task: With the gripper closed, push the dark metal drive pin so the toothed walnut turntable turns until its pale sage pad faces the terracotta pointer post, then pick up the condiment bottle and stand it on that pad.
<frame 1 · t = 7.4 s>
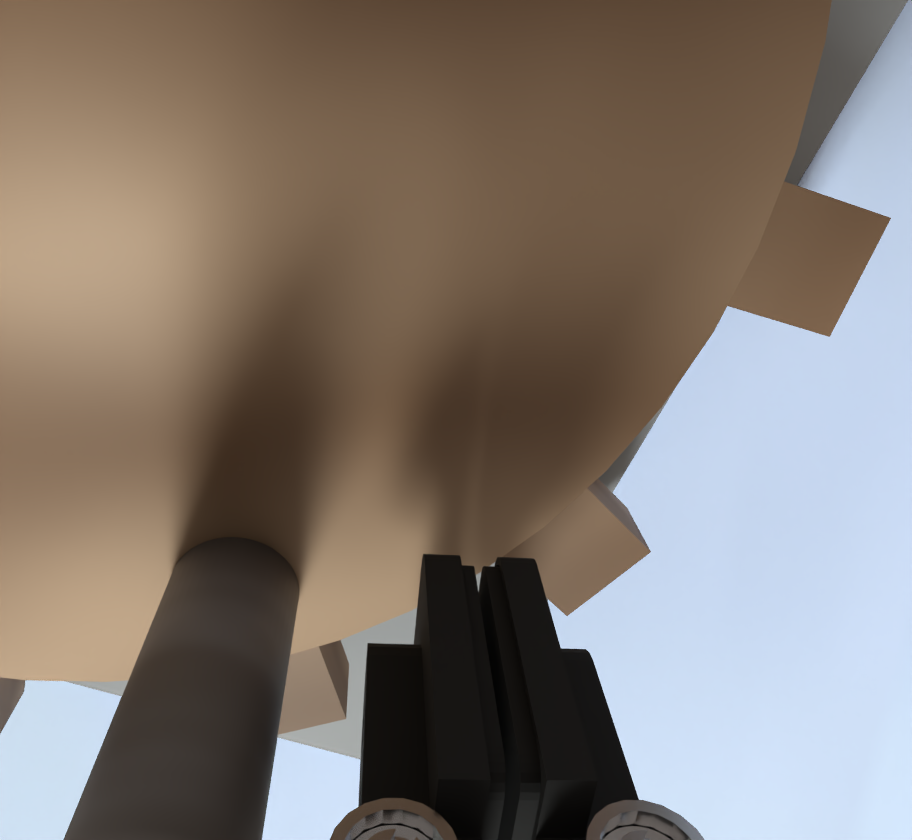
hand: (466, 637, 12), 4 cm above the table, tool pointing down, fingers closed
turntable base: (64, 9, 11), on the table
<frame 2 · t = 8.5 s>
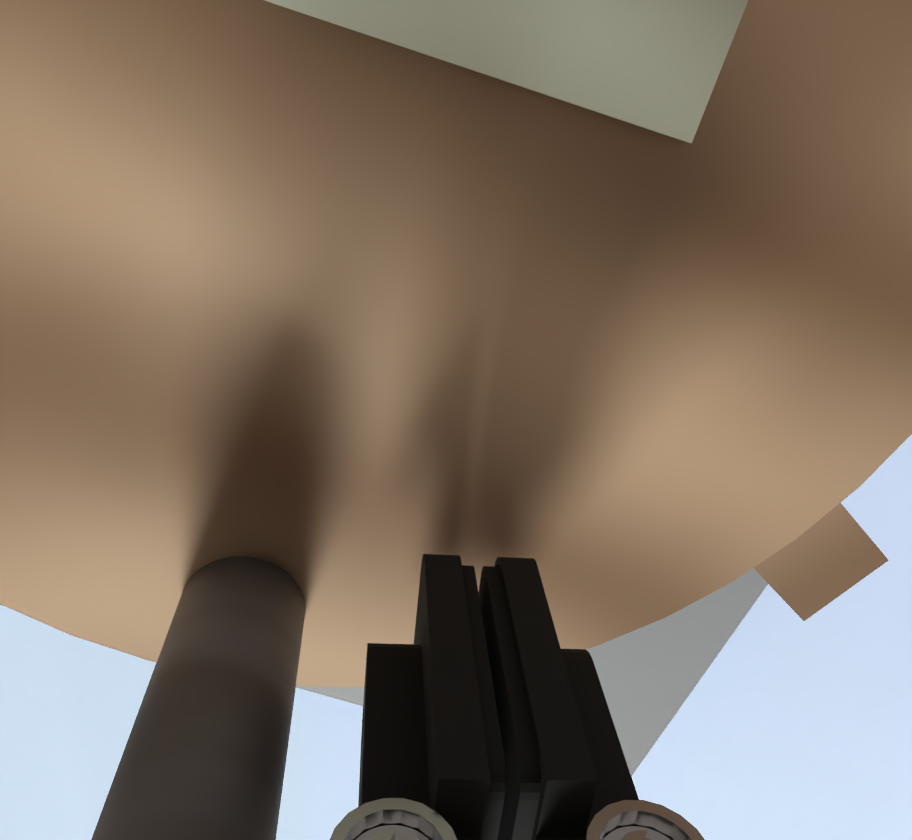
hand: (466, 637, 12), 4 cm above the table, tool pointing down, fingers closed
turntable base: (375, 64, 12), on the table
turntable: (374, 66, 8), point 4 cm above the table, hinge at 7.7°, touching gripper
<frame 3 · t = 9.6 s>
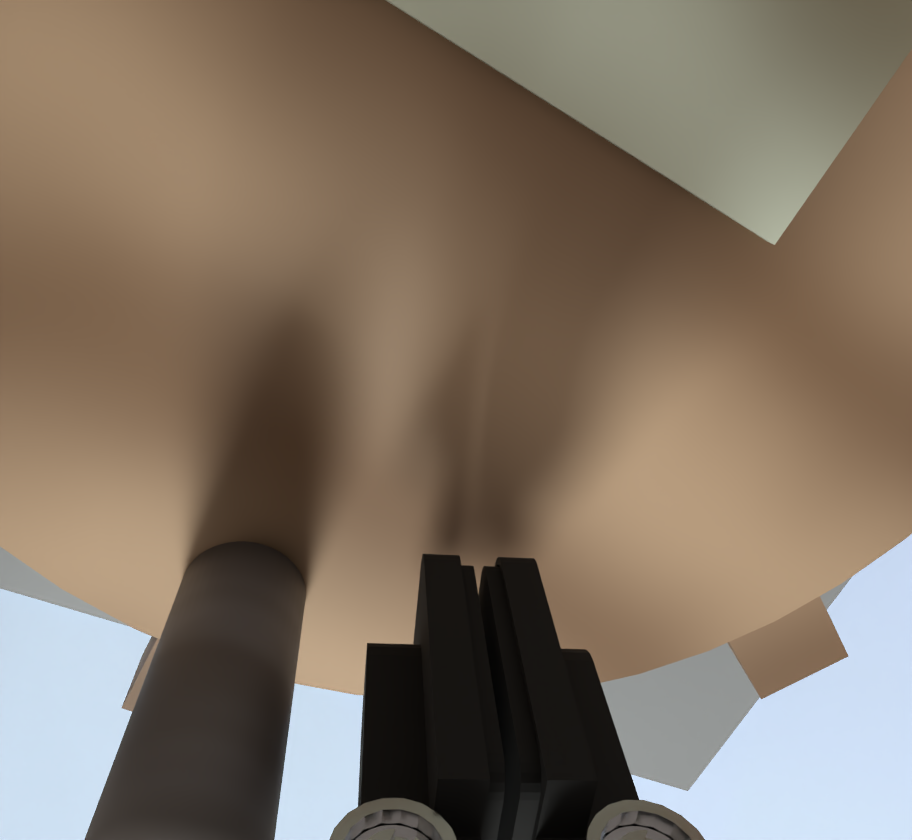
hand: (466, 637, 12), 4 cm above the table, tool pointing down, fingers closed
turntable base: (485, 100, 13), on the table
turntable: (533, 115, 9), point 4 cm above the table, hinge at -4.0°, touching gripper
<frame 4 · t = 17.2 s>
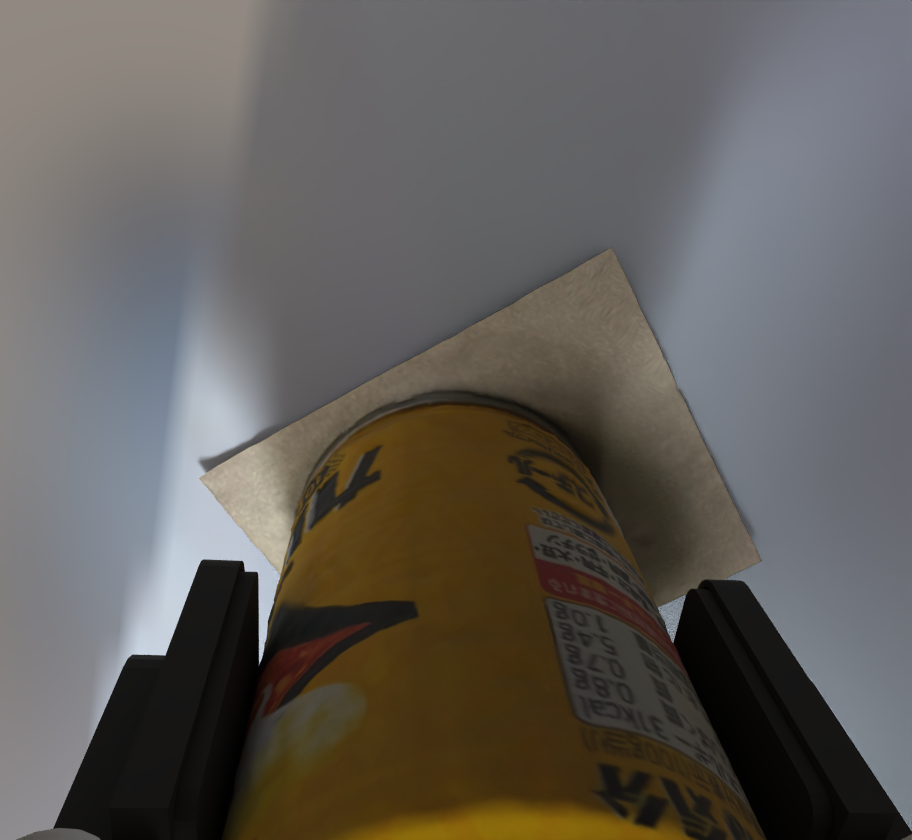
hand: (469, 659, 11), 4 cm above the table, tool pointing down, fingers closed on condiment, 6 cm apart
condiment: (490, 508, 16), on the table, touching gripper
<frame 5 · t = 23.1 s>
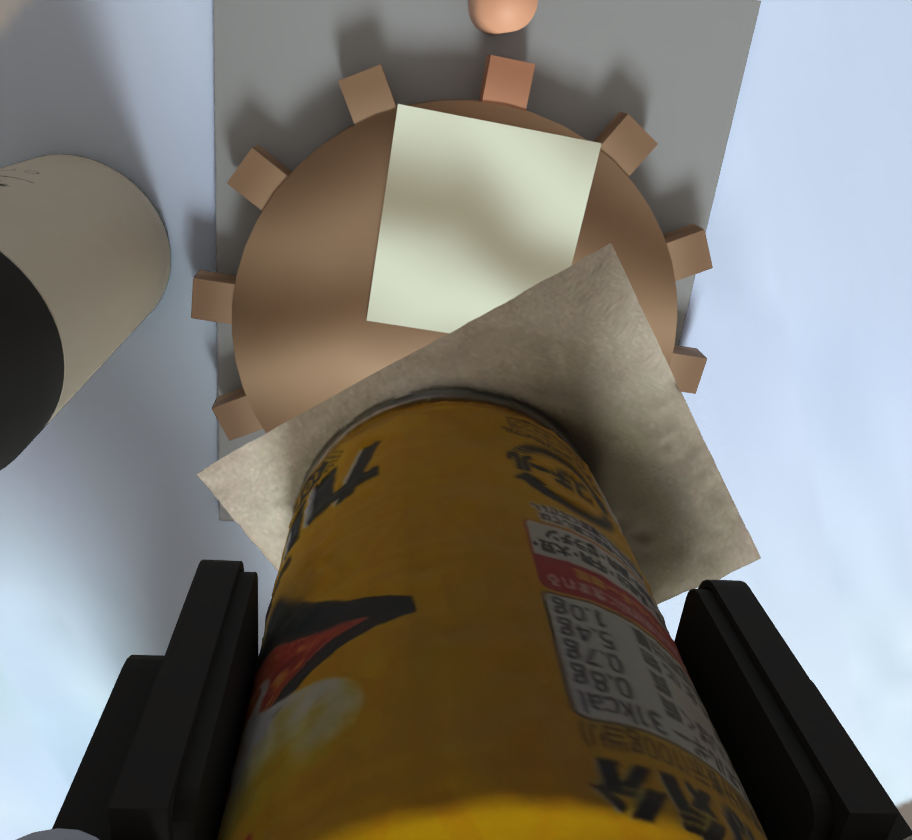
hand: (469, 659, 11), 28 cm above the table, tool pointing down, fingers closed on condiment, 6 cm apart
travel mug: (82, 246, 36), on the table
turntable base: (454, 322, 38), on the table
turntable: (461, 352, 34), point 4 cm above the table, hinge at -4.1°
condiment: (489, 505, 16), point 23 cm above the table, touching gripper
when the fingers open (8 cm above the table, at t = 28.7 s): condiment stays where it is, resting on turntable.
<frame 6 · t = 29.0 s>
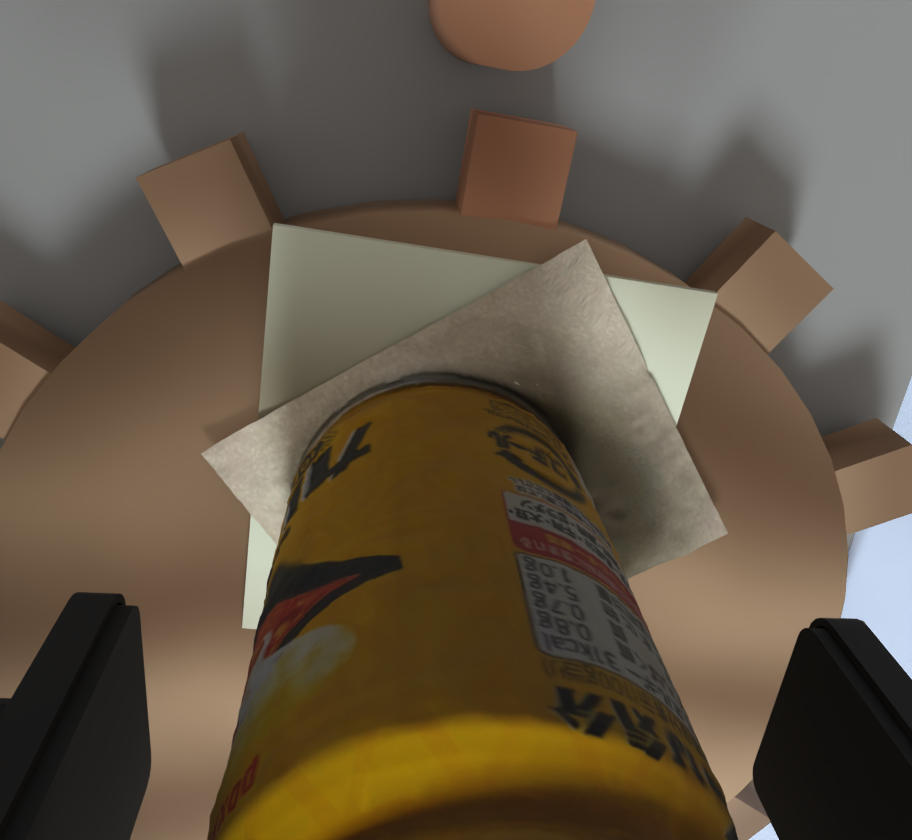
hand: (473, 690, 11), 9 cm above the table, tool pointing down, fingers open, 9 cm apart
turntable base: (422, 583, 21), on the table
turntable: (428, 702, 17), point 4 cm above the table, hinge at -4.1°, touching condiment
condiment: (474, 484, 17), point 2 cm above the table, touching turntable
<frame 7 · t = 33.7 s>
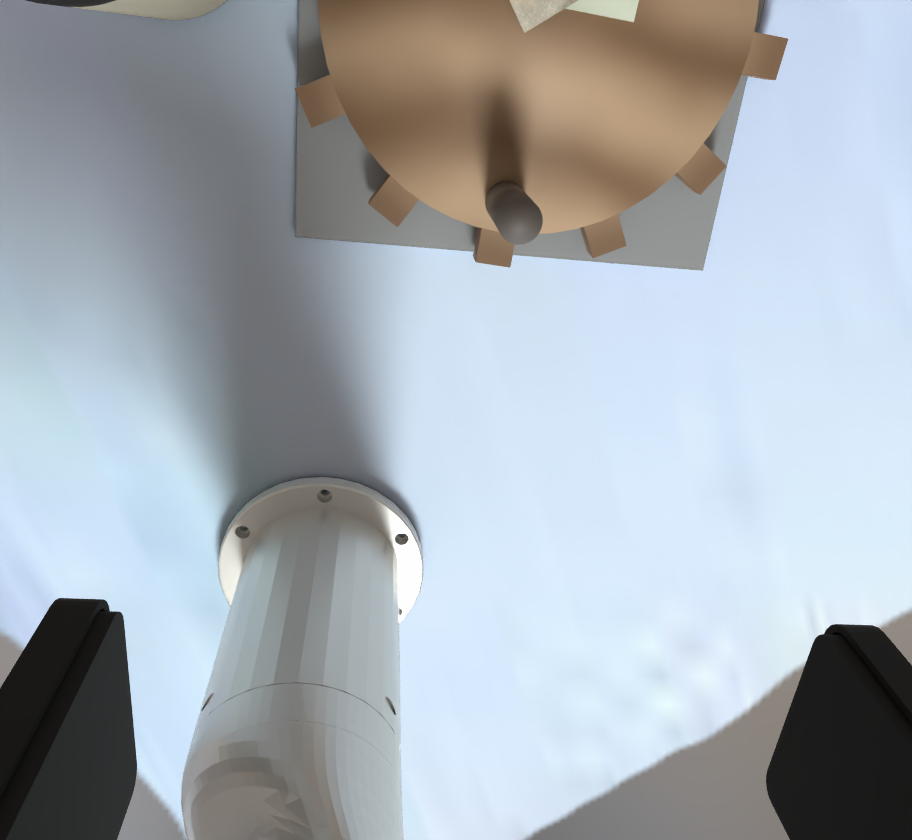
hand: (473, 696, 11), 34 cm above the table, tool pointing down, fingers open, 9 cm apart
turntable base: (533, 13, 38), on the table
turntable: (548, 9, 34), point 4 cm above the table, hinge at -4.1°, touching condiment
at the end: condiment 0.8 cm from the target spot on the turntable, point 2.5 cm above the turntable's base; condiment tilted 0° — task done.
